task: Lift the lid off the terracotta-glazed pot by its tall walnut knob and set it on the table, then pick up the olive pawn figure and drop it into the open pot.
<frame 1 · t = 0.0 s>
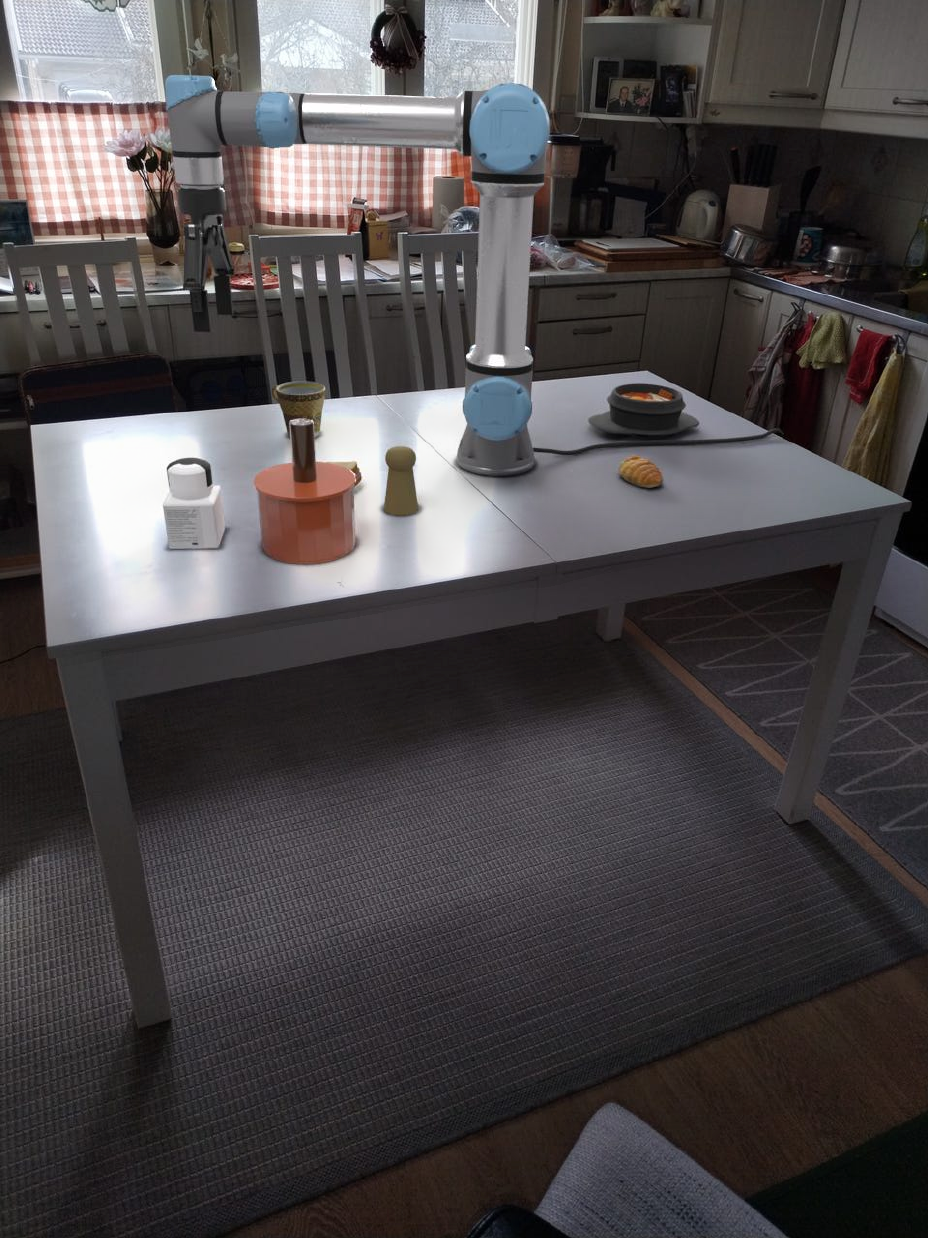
hand: (214, 322, 158), 28 cm above the table, tool pointing down, fingers open, 13 cm apart
ceramic cup: (298, 434, 195), on the table
pot: (309, 544, 147), on the table
pastry: (640, 480, 176), on the table
casserole: (642, 430, 203), on the table
toy sandwich meal: (324, 489, 168), on the table
lid: (305, 482, 142), point 10 cm above the table, touching pot
container: (198, 540, 148), on the table
olive pawn figure: (401, 509, 161), on the table
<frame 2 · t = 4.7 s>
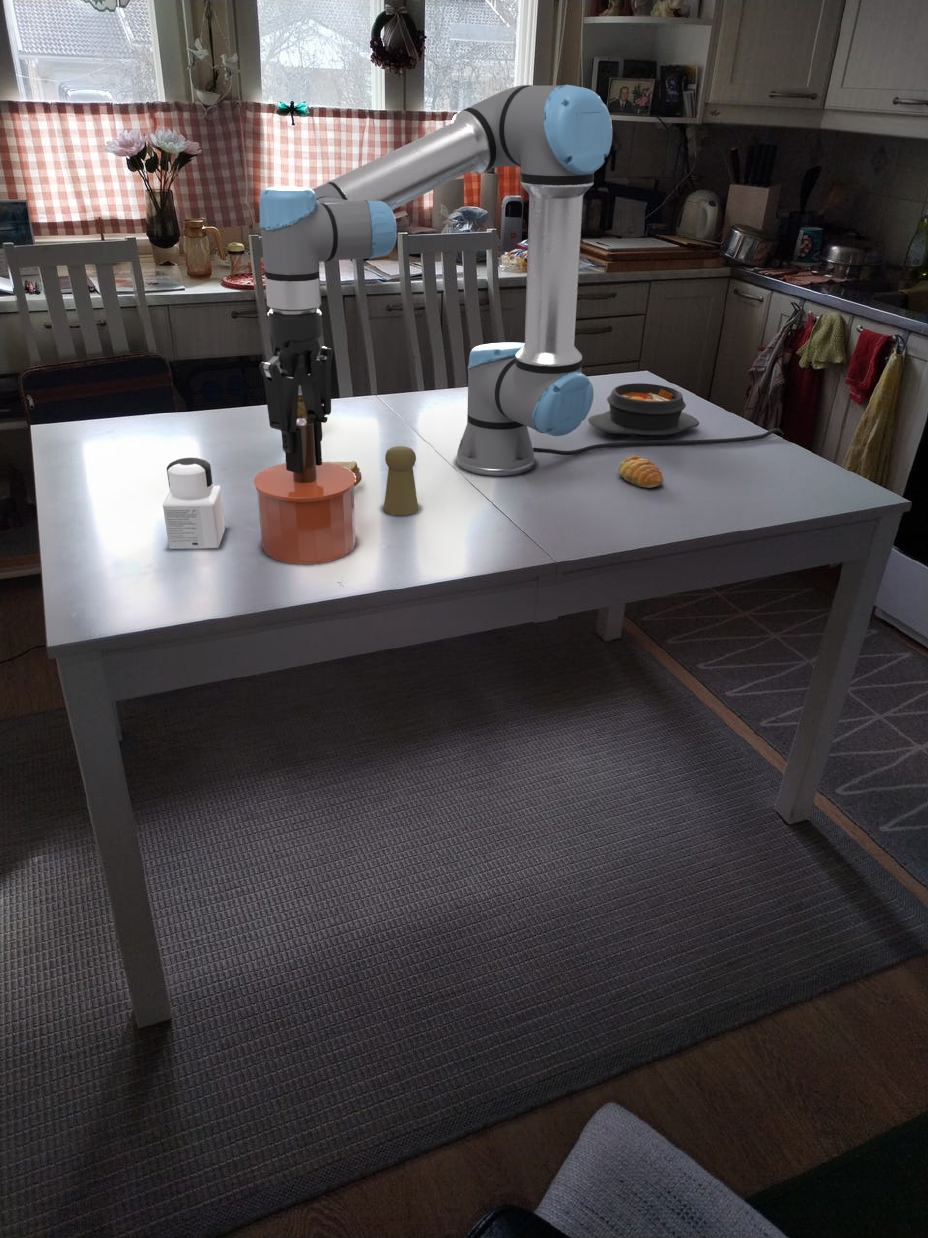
hand: (304, 466, 141), 13 cm above the table, tool pointing down, fingers closed on lid, 4 cm apart
lid: (305, 482, 142), point 11 cm above the table, touching gripper
everything else where it was.
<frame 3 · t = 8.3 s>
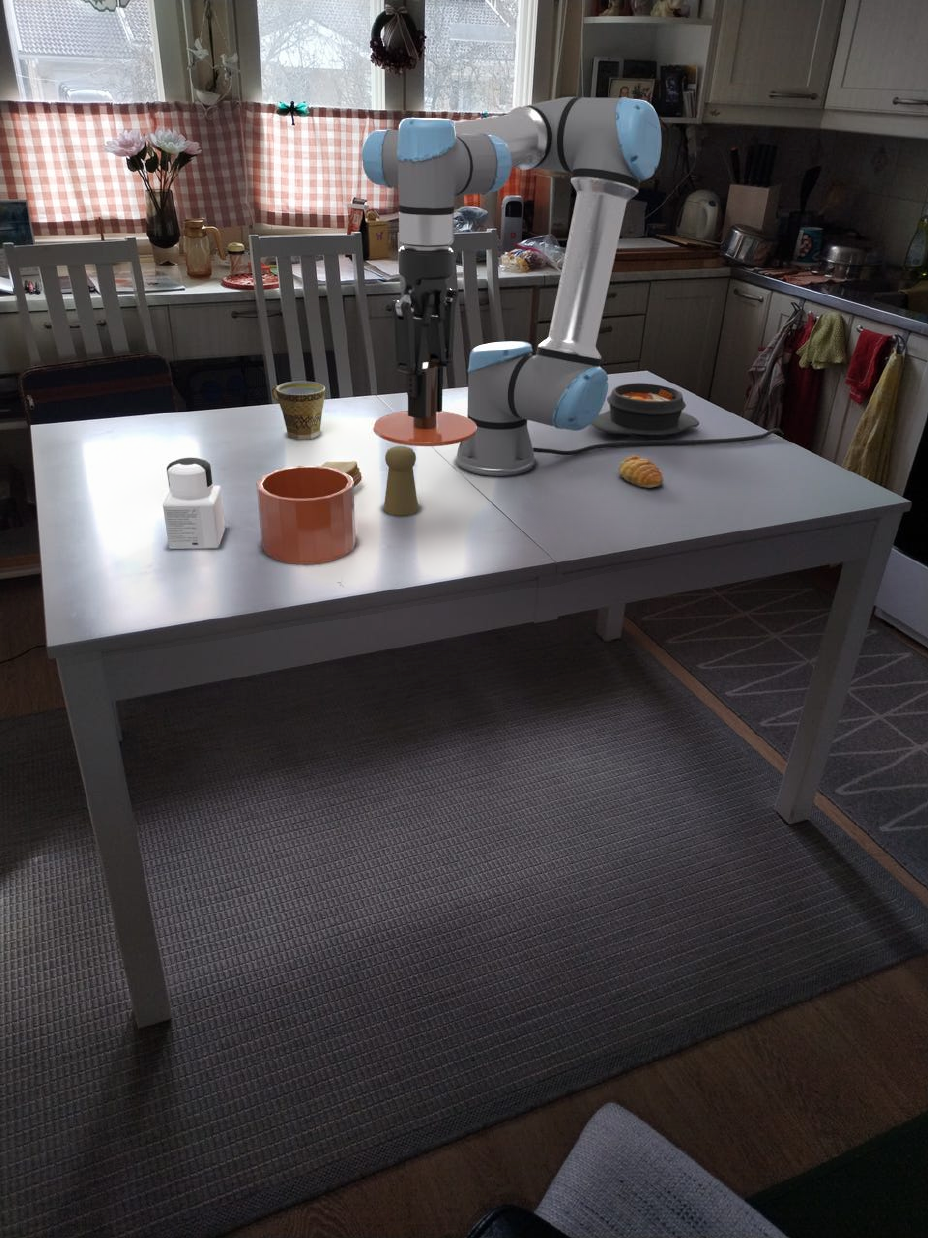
hand: (425, 413, 138), 22 cm above the table, tool pointing down, fingers closed on lid, 4 cm apart
lid: (425, 429, 139), point 19 cm above the table, touching gripper
everything else where it was.
when the fingers open (3 cm above the table, at t = 12.4 s): lid stays where it is, point 1 cm above the table.
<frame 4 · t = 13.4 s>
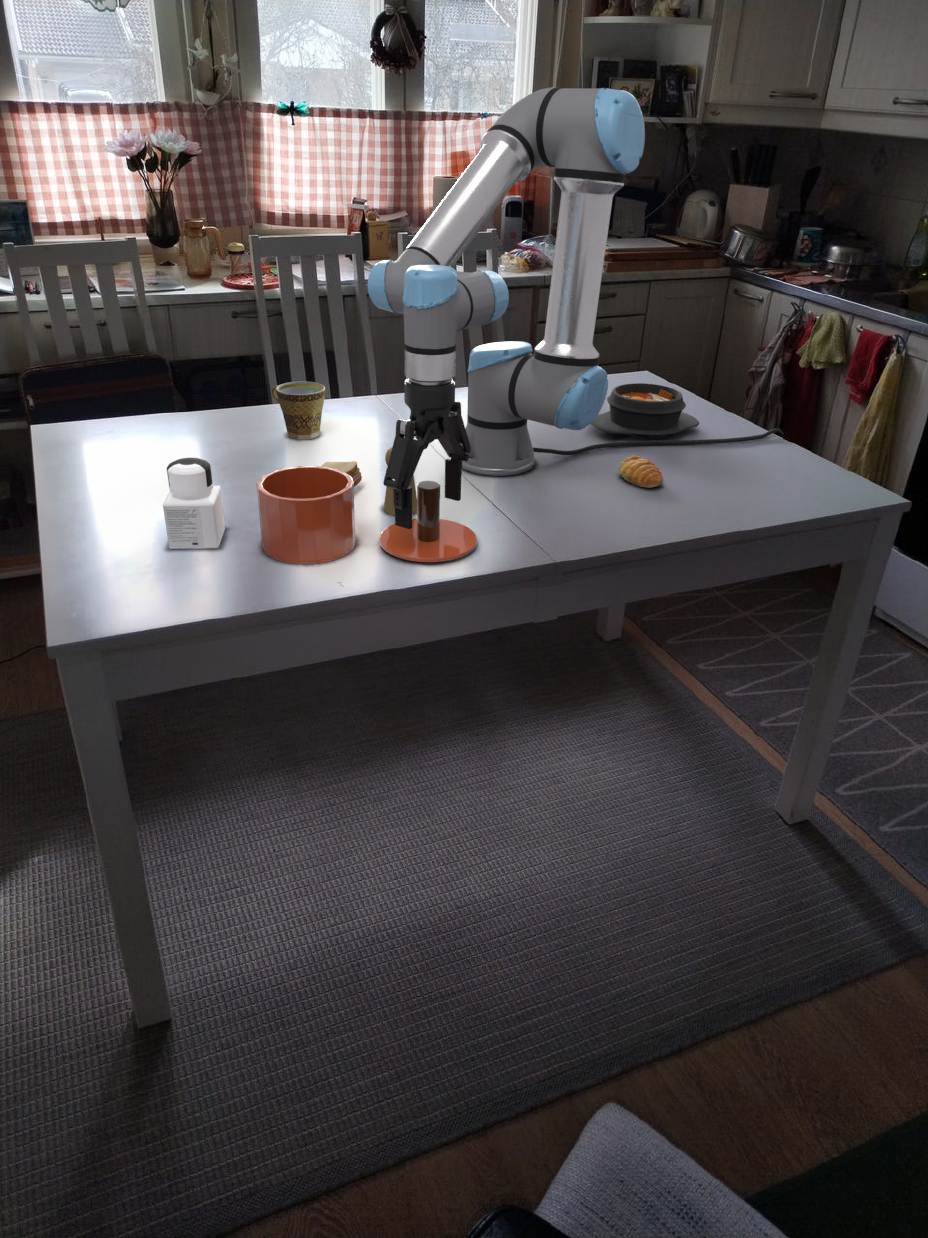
hand: (429, 512, 146), 6 cm above the table, tool pointing down, fingers open, 13 cm apart
lid: (428, 540, 148), point 1 cm above the table
everything else where it was.
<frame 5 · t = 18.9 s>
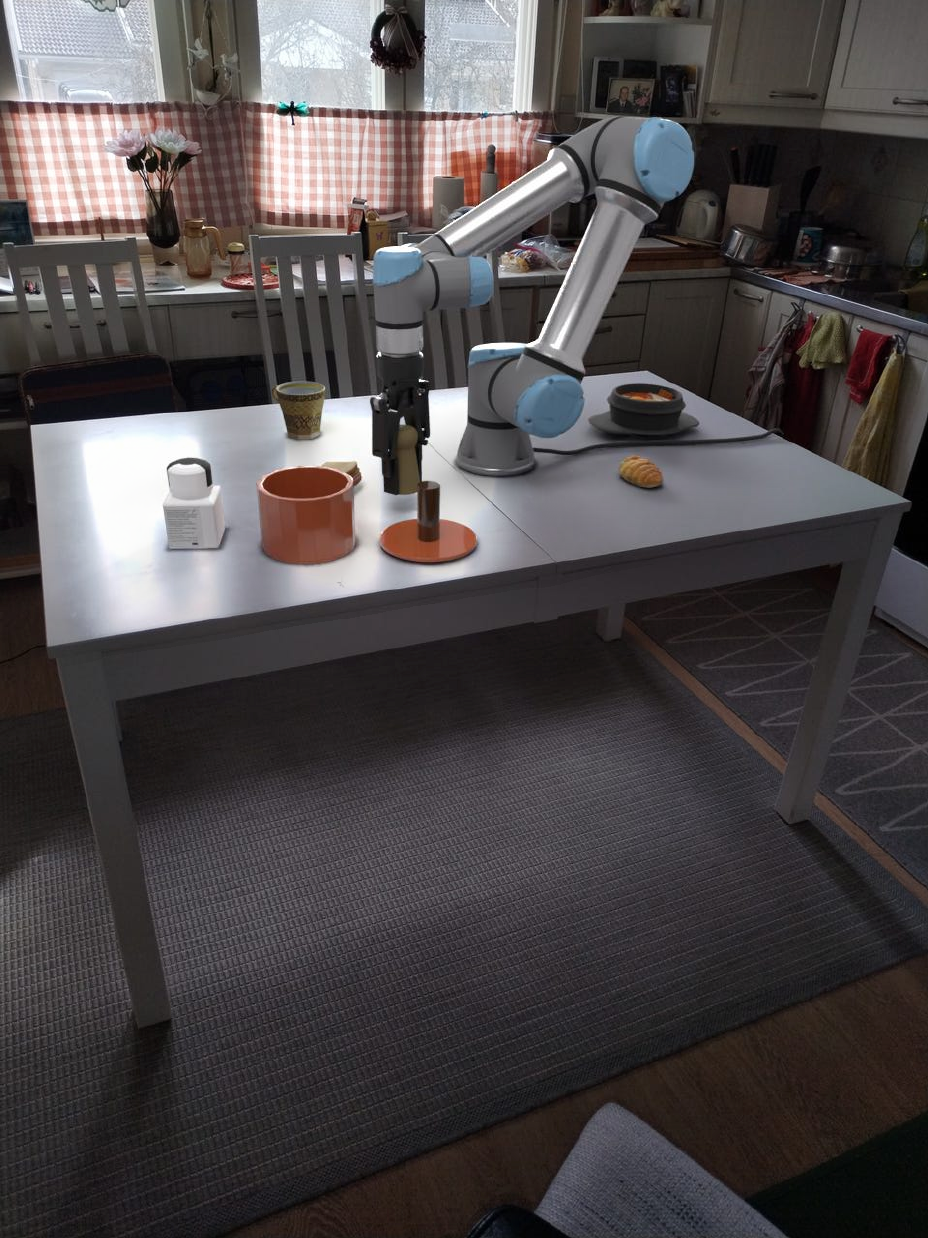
hand: (403, 486, 159), 4 cm above the table, tool pointing down, fingers closed on olive pawn figure, 6 cm apart
olive pawn figure: (403, 489, 159), point 4 cm above the table, touching gripper
everything else where it was.
when the fingers open (7 cm above the table, at t = 24.6 s): olive pawn figure drops 6 cm, resting on pot.
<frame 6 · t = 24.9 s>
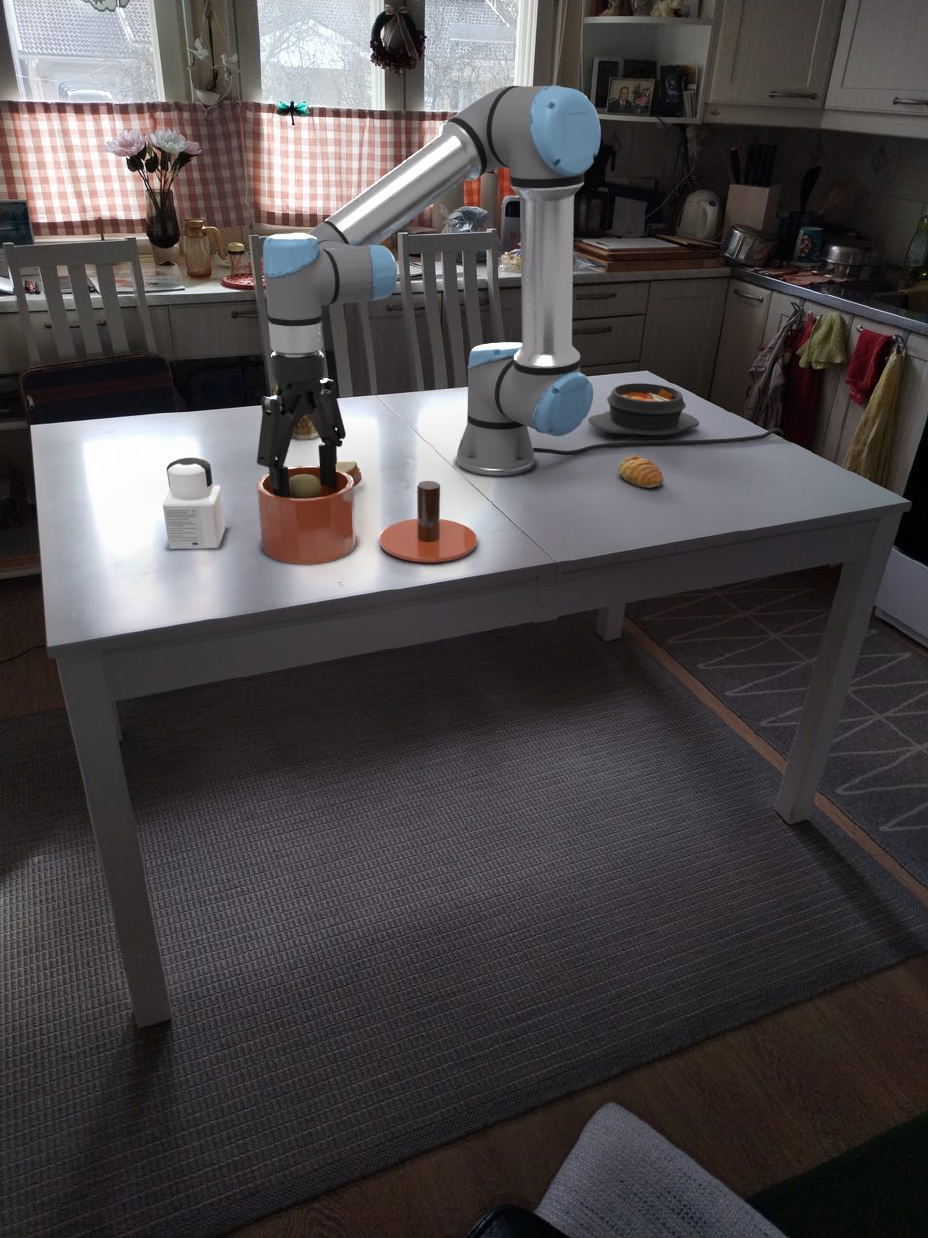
hand: (306, 495, 143), 8 cm above the table, tool pointing down, fingers open, 10 cm apart
olive pawn figure: (307, 543, 146), resting on pot
everything else where it was.
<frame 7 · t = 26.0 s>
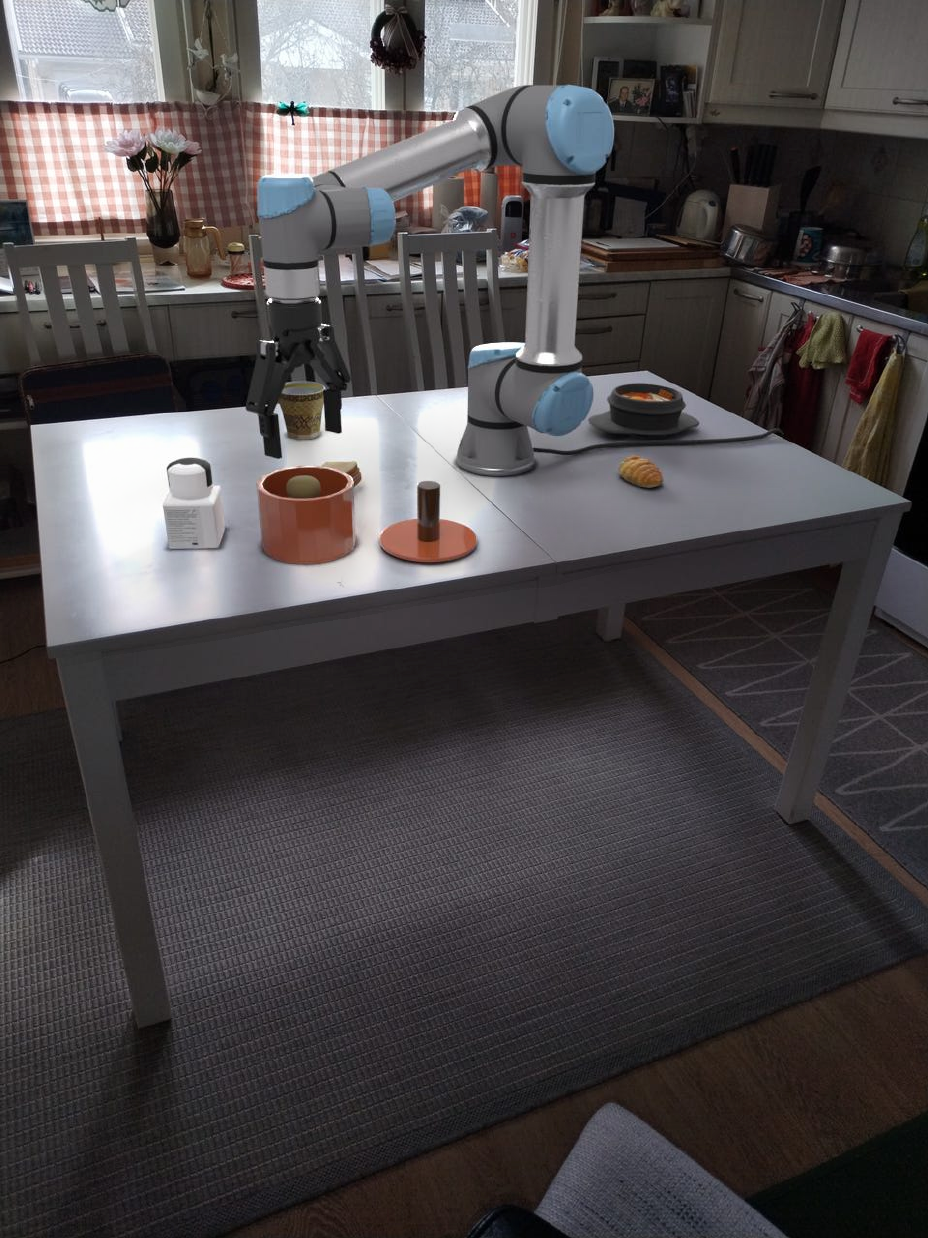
hand: (304, 443, 139), 17 cm above the table, tool pointing down, fingers open, 13 cm apart
nothing on the table moved.
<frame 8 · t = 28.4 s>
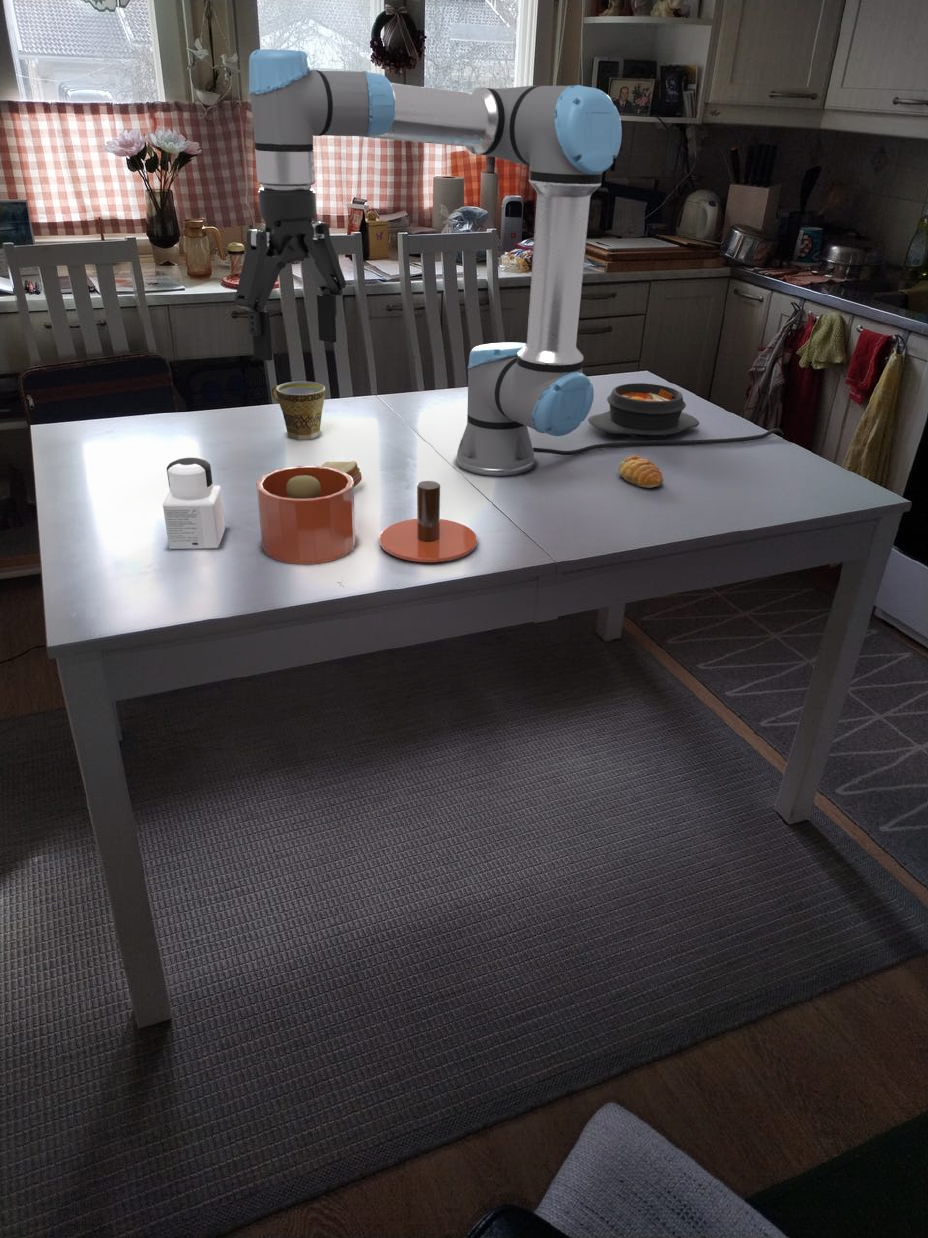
hand: (296, 349, 132), 31 cm above the table, tool pointing down, fingers open, 13 cm apart
nothing on the table moved.
at the end: lid inside the target area (0.1 cm from its centre), point 0.6 cm above the table; olive pawn figure inside the target area in the pot (0.8 cm from its centre), point 0.3 cm above the pot's base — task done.
